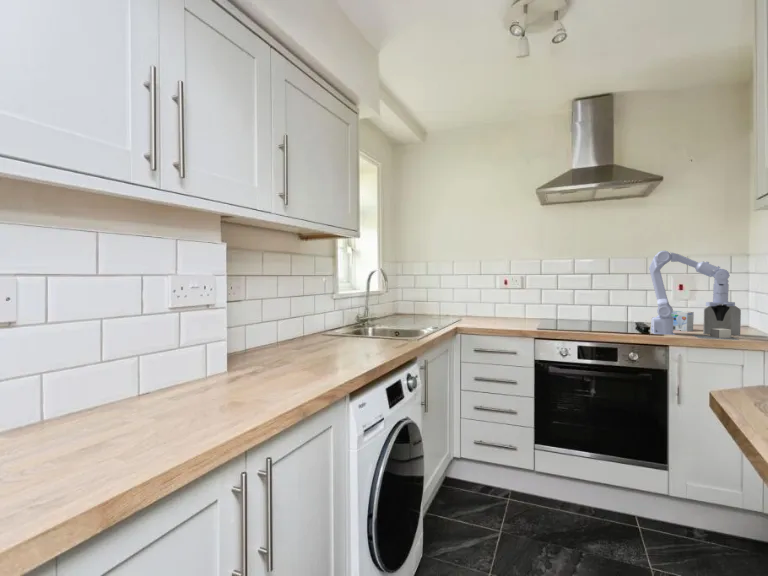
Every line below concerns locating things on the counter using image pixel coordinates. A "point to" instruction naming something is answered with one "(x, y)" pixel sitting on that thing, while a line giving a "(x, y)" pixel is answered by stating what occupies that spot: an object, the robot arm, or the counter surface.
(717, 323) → the gray chamfered slab
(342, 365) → the counter surface
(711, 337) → the rubber mat
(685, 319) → the light bulb box
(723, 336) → the cream block
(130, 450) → the counter surface
